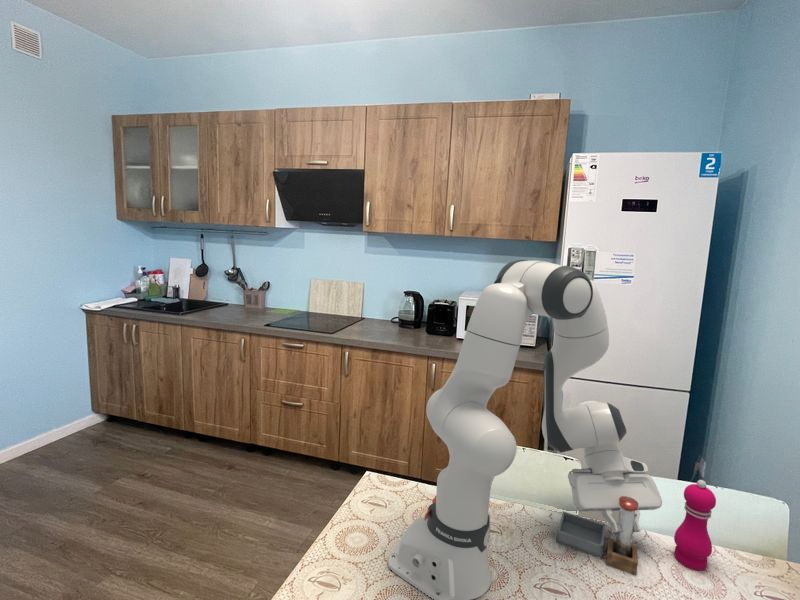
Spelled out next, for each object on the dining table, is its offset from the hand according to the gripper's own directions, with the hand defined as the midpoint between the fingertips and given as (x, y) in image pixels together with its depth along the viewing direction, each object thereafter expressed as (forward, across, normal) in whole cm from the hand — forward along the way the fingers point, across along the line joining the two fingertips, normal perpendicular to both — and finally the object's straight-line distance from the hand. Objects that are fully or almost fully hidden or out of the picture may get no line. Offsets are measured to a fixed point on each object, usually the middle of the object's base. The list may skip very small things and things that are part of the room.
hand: (626, 532), depth 96 cm
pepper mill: (+6, +17, +6) cm, 19 cm away
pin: (+5, 0, +6) cm, 8 cm away
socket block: (+5, 0, +6) cm, 8 cm away
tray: (0, -6, +11) cm, 13 cm away
